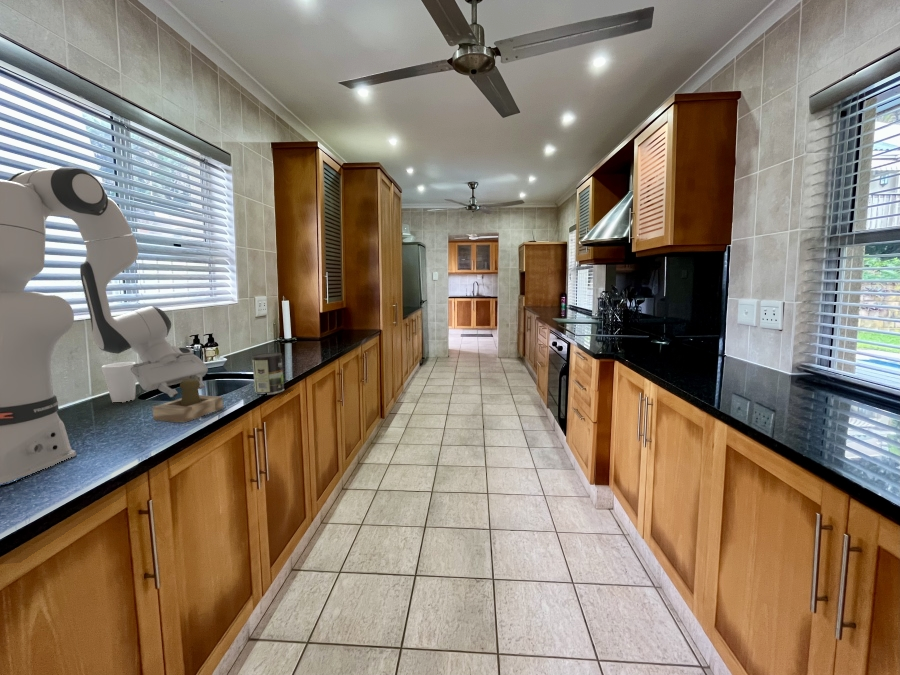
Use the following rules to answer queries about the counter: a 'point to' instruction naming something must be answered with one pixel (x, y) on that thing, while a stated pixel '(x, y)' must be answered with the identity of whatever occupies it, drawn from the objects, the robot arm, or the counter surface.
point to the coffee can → (268, 373)
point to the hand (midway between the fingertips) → (188, 391)
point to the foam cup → (120, 381)
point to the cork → (189, 392)
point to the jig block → (186, 409)
